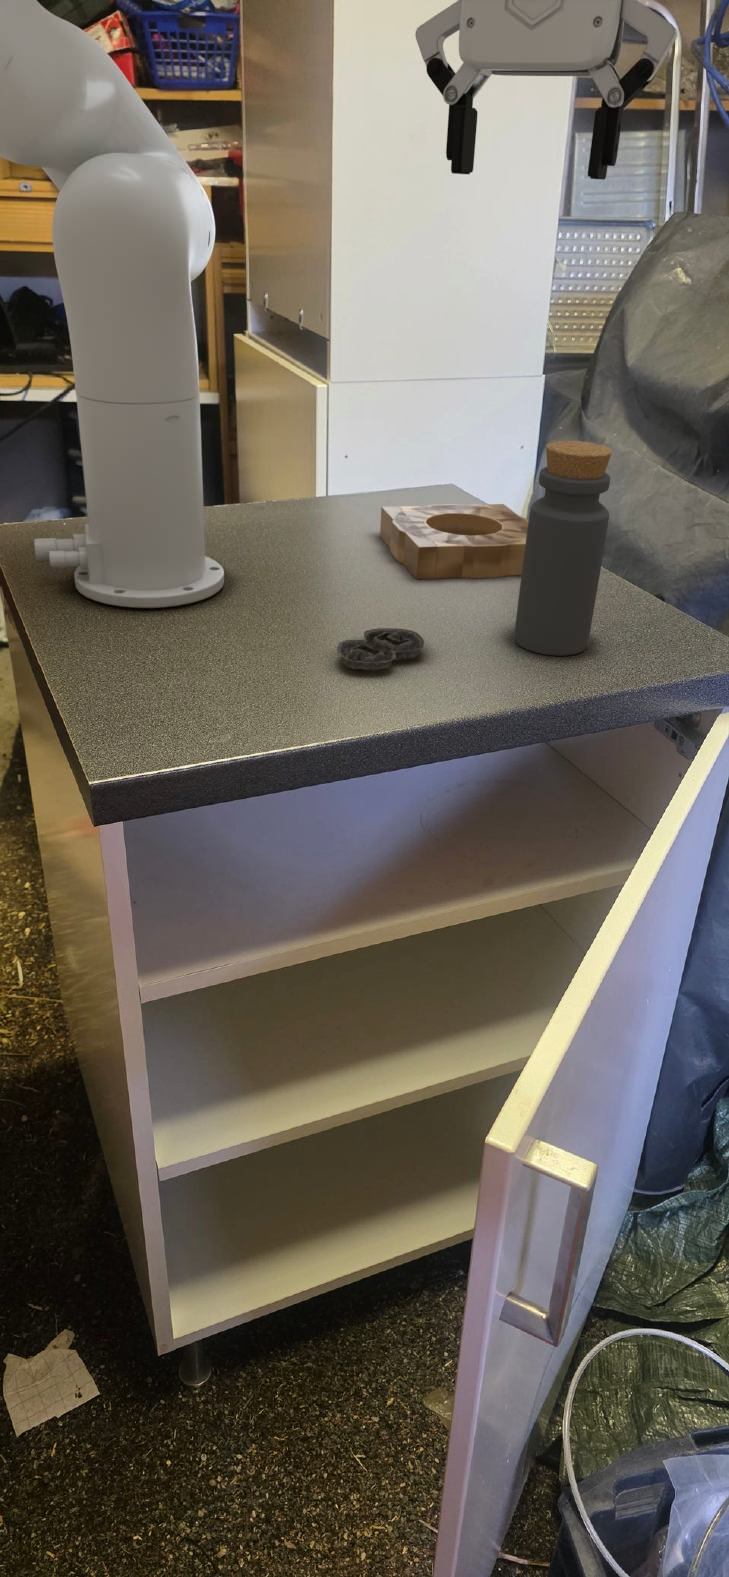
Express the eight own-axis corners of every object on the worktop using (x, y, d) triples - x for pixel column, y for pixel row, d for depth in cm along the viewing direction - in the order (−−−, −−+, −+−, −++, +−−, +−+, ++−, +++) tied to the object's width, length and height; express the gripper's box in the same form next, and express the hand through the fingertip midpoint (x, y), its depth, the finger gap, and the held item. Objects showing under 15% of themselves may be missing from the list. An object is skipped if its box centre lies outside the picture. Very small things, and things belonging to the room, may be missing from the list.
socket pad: (413, 581, 92) (416, 548, 91) (375, 535, 104) (377, 505, 102) (554, 575, 96) (559, 543, 94) (502, 531, 107) (505, 502, 105)
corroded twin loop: (319, 662, 76) (320, 648, 75) (387, 633, 81) (387, 620, 80) (372, 682, 73) (373, 668, 72) (438, 651, 78) (439, 638, 78)
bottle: (603, 649, 81) (637, 453, 73) (544, 661, 78) (574, 459, 70) (555, 623, 85) (583, 436, 77) (498, 634, 82) (521, 441, 75)
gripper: (407, -157, 62) (393, 171, 71) (698, -176, 57) (644, 180, 66) (445, -126, 68) (428, 173, 77) (712, -140, 63) (661, 182, 72)
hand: (527, 176), depth 72 cm, fingers open, 9 cm apart
